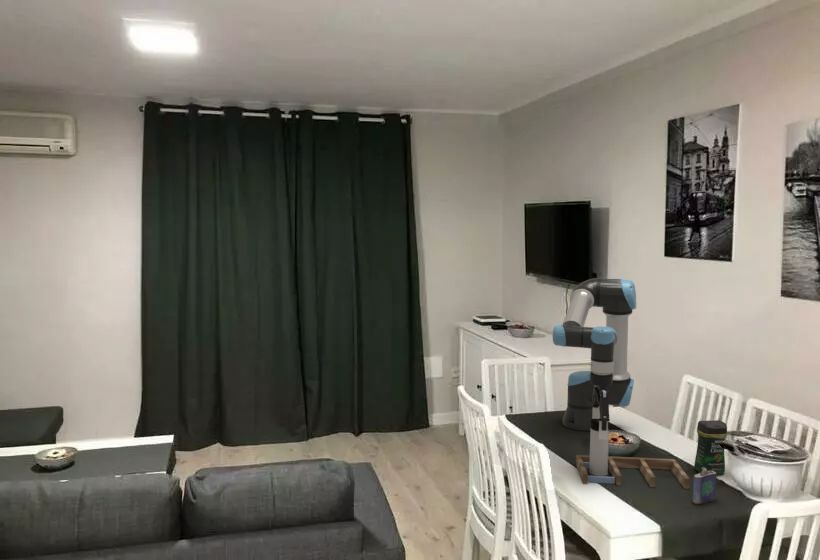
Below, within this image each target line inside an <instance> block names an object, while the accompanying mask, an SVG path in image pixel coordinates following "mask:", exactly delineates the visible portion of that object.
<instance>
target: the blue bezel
mask: <svg viewBox="0 0 820 560" xmlns="http://www.w3.org/2000/svg"><path fill="white" fill-rule="evenodd" d="M583 463H584V466H585V468H586V470H589V462H583ZM588 483H589V484H590V483H591V484H614V485H616V483H615V477H612V476H607V477H606V476H590V475H588Z"/></svg>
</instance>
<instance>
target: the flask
mask: <svg viewBox="0 0 820 560" xmlns="http://www.w3.org/2000/svg"><path fill="white" fill-rule="evenodd" d="M703 468H704V469H703ZM703 468H701V469H703V471H702V473H699V472H698V473H697V474H694V476H693V489H692V503H693V504H695V505H701V504H705V503H708V502H712V501H715V500H716V489H717V487H716V486H717V476H718V475H717V473H716V472H714V471H707V470H706V468H705V467H703Z"/></svg>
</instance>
